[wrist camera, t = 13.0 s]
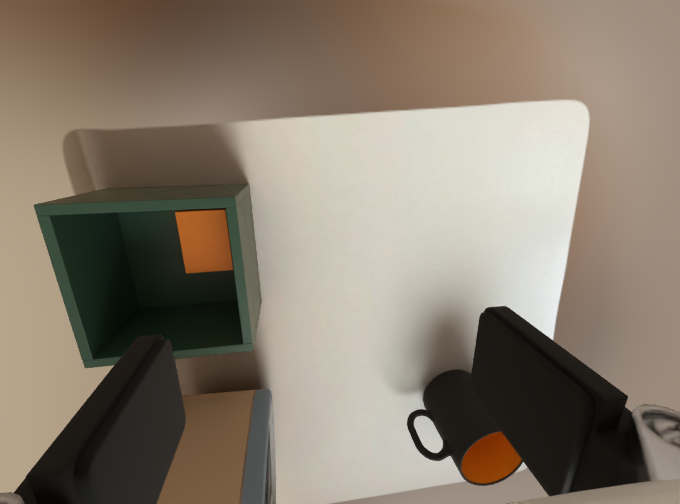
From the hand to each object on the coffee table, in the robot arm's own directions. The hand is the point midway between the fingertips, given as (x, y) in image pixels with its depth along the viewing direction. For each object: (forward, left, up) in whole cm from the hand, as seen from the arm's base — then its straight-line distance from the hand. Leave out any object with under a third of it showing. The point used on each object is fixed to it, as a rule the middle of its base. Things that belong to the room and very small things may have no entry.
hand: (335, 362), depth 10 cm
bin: (+4, -12, -27) cm, 30 cm away
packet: (+2, -9, -26) cm, 28 cm away
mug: (+28, +18, -27) cm, 43 cm away
